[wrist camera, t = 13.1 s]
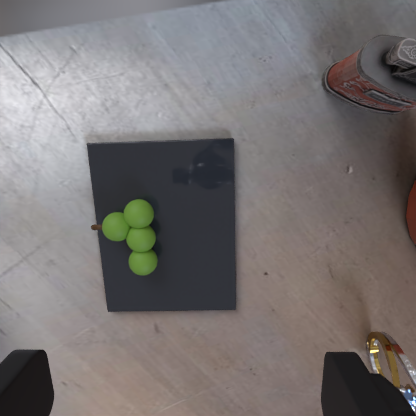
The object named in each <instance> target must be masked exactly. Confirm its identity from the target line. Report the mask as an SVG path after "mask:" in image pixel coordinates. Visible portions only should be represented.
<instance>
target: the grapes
mask: <svg viewBox="0 0 416 416" xmlns="http://www.w3.org/2000/svg"><path fill="white" fill-rule="evenodd" d="M153 217H154V211H153V208H152V206H151V205H150V204H149V203H148V202H147V201H145V200H141V199H136V200H133V201H131V202H129V203H128V204H127V206H126V207H125V209H124V213H121V212H114V213H111V214H109V215H108V216H107V217H106V218H105V219H104V221H103V223H102V224H101V225H92V226H91V229H92V230H102V231H103V233H104V235H105V236H106V237H107V238H108V239H110V240H112V241H122V240H124V239H126V241H127V244H128V246H129V247H130V248H131V249H132V250H133V252H132V253H131V255H130V257H129V267H130V269H131V270H132V271H133V272H134V273H135V274H137V275H148V274H150V273H151V272H153V271H154V270H155V268H156V266H157V262H158V259H157V255H156V253H155V252H154V251H153V250H152V249H151V248H152V247H153V245H154V244H155V241H156V235H155V232H154V230H153V229H152V228H151V227H150V226H149V224H150V223H151V222H152V220H153Z"/></svg>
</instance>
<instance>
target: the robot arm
mask: <svg viewBox="0 0 416 416" xmlns="http://www.w3.org/2000/svg"><path fill="white" fill-rule="evenodd" d="M53 401H54V390H53V384H52V379H51V374H50V368H49V363H48V358H47V354H46V352H45V351H44V350H14V351H13V352H11V353H10V354H9V355H8V356H7V357H6V358H5V359H4V360H3V361H2V362H1V364H0V416H49V414H50V412H51V409H52V406H53ZM321 404H322V411H323V416H416V415H415V412H414V410H413V408H412V407H411V405H410V404H409V402H408V401H407V400H406V398H405V397H404V395H403V394H402V393H401V391H400V390H399V389H398V388H397V387H395V386H394V385H393V384H392V383H391V382H390V381H388V380H387V379H386V378H385V377H384V376H382V375H381V374H380V373H369V371H368V369H367V368H366V366H365V365H364V363H363V361H362V360H361V358H360V357H359V355H358V354H357V353H355V352H327V353H326V354H325V358H324V369H323V380H322V391H321Z"/></svg>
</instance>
